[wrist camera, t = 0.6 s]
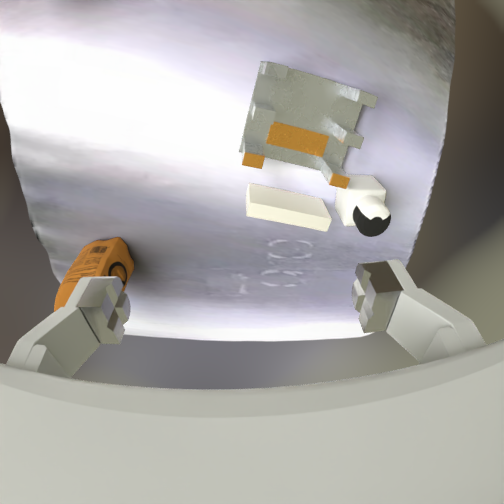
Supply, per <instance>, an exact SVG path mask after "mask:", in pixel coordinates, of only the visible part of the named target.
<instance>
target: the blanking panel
mask: <svg viewBox="0 0 504 504" xmlns="http://www.w3.org/2000/svg"><path fill="white" fill-rule="evenodd" d="M246 215H247V216H249V217H255V218H260V219H265V220H271V221H276V222H281V223H286V224H291V225H296V226H301V227H306V228H311V229H316V230H321V231H326V232H327V230H328V228H329V225H330V223H331V220H332V219H331V217H330V215H329V213H328V211H327V209H326V207H325V205H324V203H323V201H322V199H321V198H317V197H313V196H308V195H304V194H300V193H295V192H291V191H286V190H281V189H277V188H272V187H267V186H262V185H257V184H252V183H249V185H248V189H247V193H246Z"/></svg>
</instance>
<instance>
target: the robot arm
mask: <svg viewBox="0 0 504 504" xmlns="http://www.w3.org/2000/svg"><path fill="white" fill-rule="evenodd" d="M355 273H356V276H357V279H356V280H355V281H354V283H353V287H352V301H353V305H354V308H355V309H356V310H357V311H358V312H360V315H359V321H360V324H361V327H362V329H363V332H364V333H369V332H377V331H385V330H386V332H387V333H388V334H389V335H390V336H392V337H393V338H394V339H395V340H396V341H397V342H398V343H399V344H400V345H401V346H403V347H404V348H405V349H406V350H407V351H408V352H409V353H410V354H411V355H412V356H413V357H414V358H416V359H417V360H418V361H419V362H420V363H419V365H416V366H412V367H408V368H403V369H399V370H394V371H389V372H384V373H379V374H374V375H368V376H363V377H357V378H350V379H344V380H337V381H330V382H322V383H314V384H306V385H296V386H285V387H271V388H254V389H221V390H198V389H196V390H195V389H166V388H165V389H164V388H148V387H135V386H124V385H114V384H105V383H98V382H90V381H83V380H76V379H71V377H72V375H73V374H74V373H75V372H76V371H77V370H78V369H79V368H80V366H81V365H82V364H83V363H84V362H85V361H86V360H87V359H88V358H89V356H90V355H91V354H92V353H93V352H94V351H95V350H96V349H97V348H98V347H99V346H100V343H102V344H120V343H121V340H122V337H123V334H124V331H125V329H124V327H123V324H124V323H126V322H127V321H128V319H129V316H130V301H129V298H128V296H127V294H125V293H124V292H123V291H122V287H123V284H122V281H121V279H120V278H119V277H117V276H110V277H82V278H80V280H79V282H78V283H77V285H76V287H75V289H74V290H73V292H72V294H71V296H70V297H69V299H68V301H67V303H66V305H65V307H60V308H59V309H58V310H56V311H55V312H54V313H53V314H51V315H50V316H49V317H47V318H46V319H45V320H43V321H42V322H41V323H39V324H38V325H37V326H36V327H34V328H33V329H32V330H31V331H29V332H28V333H27V334H25V335H24V336H23V337H22V338H20V340H18V342H17V344H16V346H15V347H14V349H13V351H12V354H11V356H10V358H9V360H8V362H7V364H6V365H5V364H2V363H0V504H504V339H502V340H499V341H496V342H494V343H491V344H488V345H486V344H485V342H484V340H483V338H482V337H481V335H480V333H479V331H478V330H477V328H476V326H475V325H474V323H473V321H472V320H471V319H469V318H468V317H466V316H465V315H463V314H461V313H460V312H458V311H457V310H455V309H454V308H452V307H450V306H449V305H447V304H446V303H444V302H442V301H441V300H439V299H438V298H436V297H434V296H433V295H431V294H429V293H428V292H426V291H424V290H423V289H418V288H417V287H416V285H415V284H414V282H413V280H412V279H411V277H410V275H409V274H408V272H407V271H406V269H405V268H404V266H403V265H402V263H401V262H400V261H399V260H398V259H395V260H386V261H379V262H367V263H358V265H357V267H356V271H355Z"/></svg>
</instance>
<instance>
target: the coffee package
mask: <svg viewBox="0 0 504 504" xmlns="http://www.w3.org/2000/svg"><path fill="white" fill-rule="evenodd" d="M133 270H134V261H133V259H131V257H130V254H129V252H128V249H127V245H126V244H125V243H124V241H123V240H122V239H121V238H120V237H116V238H112V239H110V240H106V241H103V240H97V241H94V242H92V243H90V244H89V245H86V246H85V247H84V248H83V249H82V251H81V252H80V254H79V256H78V257H77V259H76V260H75V261H74V263H73V264H72V266H71V267H70V269H69V270H68V272H67V274H66V276H65V278H64V279H63V281H62V283H61V285H60V288H59V290H58V293H57V296H56V299H55V306H54V312H55V311H56V310H58V309H59V308H60V307H65V305H66V303H67V301H68V299H69V297H70V296H71V294H72V292H73V290H74V289H75V287H76V285H77V283H78V282H79V280H80V278H82V277H110V276H117V277H119V278H120V279H121V281H122V284H123V287H122V291H123V292H124V290H125V287H126V285H127V282H128V280H129V278H130V276H131V274H132V272H133Z"/></svg>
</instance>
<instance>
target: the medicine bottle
mask: <svg viewBox="0 0 504 504" xmlns="http://www.w3.org/2000/svg"><path fill="white" fill-rule="evenodd" d="M348 176H349V177H350V181H349V183H348V186H347V188H346V189H343V188H339V187H337V189H336V199H335V209H336V211H337V213H338V215H339V217H340V218H341V220H342V222H343V224H344V225H345V226H357V228H358V230H359V231H360V233H362V234H363V235H365V236H368V237H373V236H377V235H380V234H381V233H383V232H384V231H385V230H386V229H387V227H388V226H389V224H390V220H391V215H390V211H389V210H388V209H387V207H386V206H385V205H384V202H385V197H386V190H385V189H384V188H383V187H382V185H381V184H380V183H379V182H378V181H377V180H376V179H375V178H374V177H373V176H372V175H348Z"/></svg>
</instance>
